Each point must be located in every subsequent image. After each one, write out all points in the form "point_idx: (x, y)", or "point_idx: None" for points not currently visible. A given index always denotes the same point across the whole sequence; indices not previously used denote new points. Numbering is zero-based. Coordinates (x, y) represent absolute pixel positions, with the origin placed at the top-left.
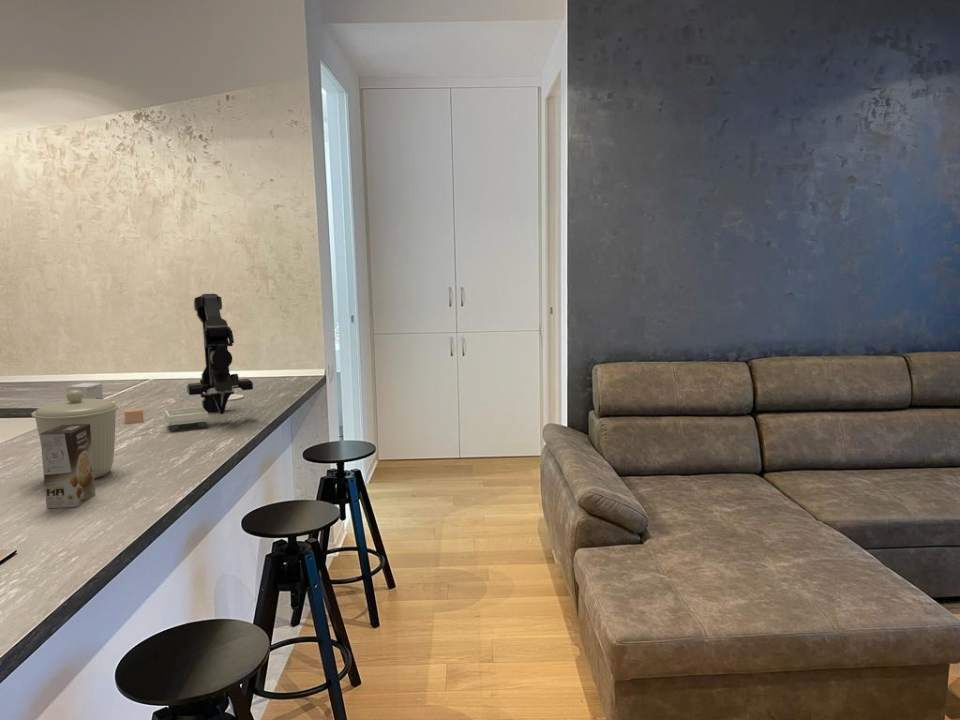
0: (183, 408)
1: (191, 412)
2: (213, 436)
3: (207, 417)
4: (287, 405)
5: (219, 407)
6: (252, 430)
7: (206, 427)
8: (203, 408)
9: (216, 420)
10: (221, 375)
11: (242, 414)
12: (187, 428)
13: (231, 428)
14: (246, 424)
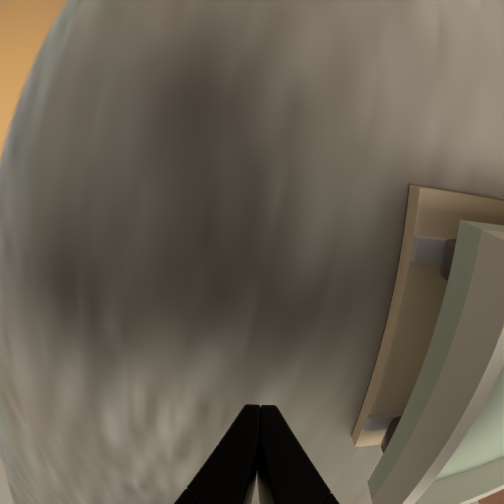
0: (490, 493)
1: (447, 479)
2: (404, 24)
3: (492, 230)
4: (7, 475)
5: (295, 461)
6: (80, 67)
7: (425, 258)
8: (420, 486)
9: None
10: None
11: (126, 495)
12: None
13: (208, 233)
14: (88, 307)
